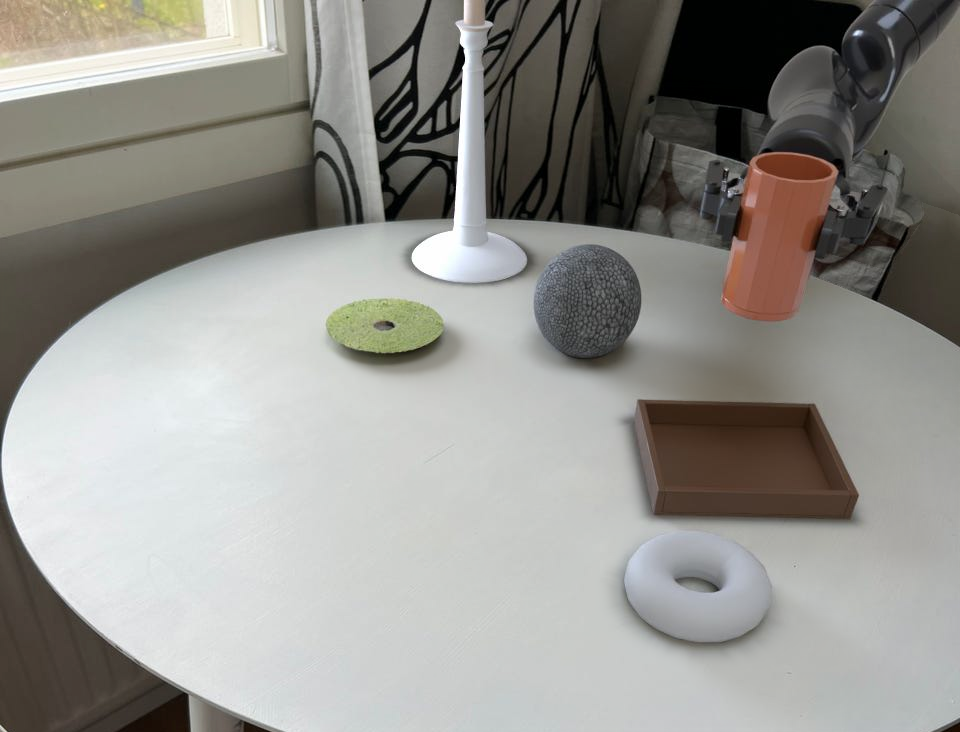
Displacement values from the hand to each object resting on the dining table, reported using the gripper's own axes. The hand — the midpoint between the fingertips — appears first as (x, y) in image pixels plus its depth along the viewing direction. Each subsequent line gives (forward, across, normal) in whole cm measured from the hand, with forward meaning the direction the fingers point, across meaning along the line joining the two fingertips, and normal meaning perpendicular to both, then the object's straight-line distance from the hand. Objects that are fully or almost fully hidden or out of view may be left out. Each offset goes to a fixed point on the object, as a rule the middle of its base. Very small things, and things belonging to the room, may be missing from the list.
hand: (775, 237), depth 68 cm
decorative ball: (-12, -16, +18) cm, 27 cm away
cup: (-2, 0, +6) cm, 6 cm away
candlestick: (-27, -33, +18) cm, 46 cm away
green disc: (-6, -34, +18) cm, 39 cm away
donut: (+20, +1, +18) cm, 27 cm away
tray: (+3, +2, +18) cm, 18 cm away
